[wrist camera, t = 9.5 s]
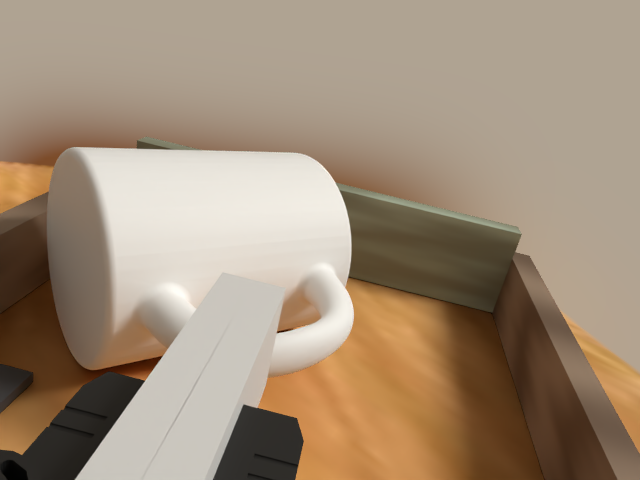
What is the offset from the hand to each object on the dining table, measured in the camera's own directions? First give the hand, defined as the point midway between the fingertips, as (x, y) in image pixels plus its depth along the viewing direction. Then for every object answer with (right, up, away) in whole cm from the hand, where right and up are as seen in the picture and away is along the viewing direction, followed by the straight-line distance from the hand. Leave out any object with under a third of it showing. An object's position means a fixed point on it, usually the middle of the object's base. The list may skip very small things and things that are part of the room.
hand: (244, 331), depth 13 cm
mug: (-3, -3, +10) cm, 11 cm away
